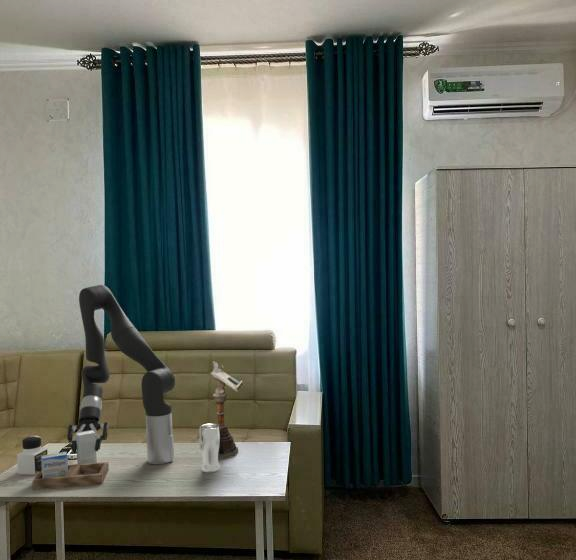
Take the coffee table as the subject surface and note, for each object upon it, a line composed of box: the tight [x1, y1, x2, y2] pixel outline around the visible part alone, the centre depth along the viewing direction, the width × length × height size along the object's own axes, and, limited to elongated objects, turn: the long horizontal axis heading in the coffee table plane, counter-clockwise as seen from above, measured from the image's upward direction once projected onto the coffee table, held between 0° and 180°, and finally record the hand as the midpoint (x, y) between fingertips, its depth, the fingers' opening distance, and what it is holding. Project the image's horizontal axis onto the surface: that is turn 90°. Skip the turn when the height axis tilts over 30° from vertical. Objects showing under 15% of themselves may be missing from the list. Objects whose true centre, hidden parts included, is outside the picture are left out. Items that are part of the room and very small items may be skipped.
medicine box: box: [41, 451, 69, 478], centre depth 183 cm, size 8×4×9 cm, turn 117°
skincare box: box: [75, 430, 98, 464], centre depth 197 cm, size 6×4×12 cm
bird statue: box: [209, 361, 243, 460], centre depth 206 cm, size 17×13×35 cm
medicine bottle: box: [16, 435, 49, 476], centre depth 194 cm, size 7×7×12 cm
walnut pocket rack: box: [32, 461, 110, 491], centre depth 184 cm, size 21×12×3 cm, turn 99°
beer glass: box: [198, 423, 221, 474], centre depth 189 cm, size 7×7×15 cm
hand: (85, 451), depth 196 cm, fingers closed on skincare box, 7 cm apart
